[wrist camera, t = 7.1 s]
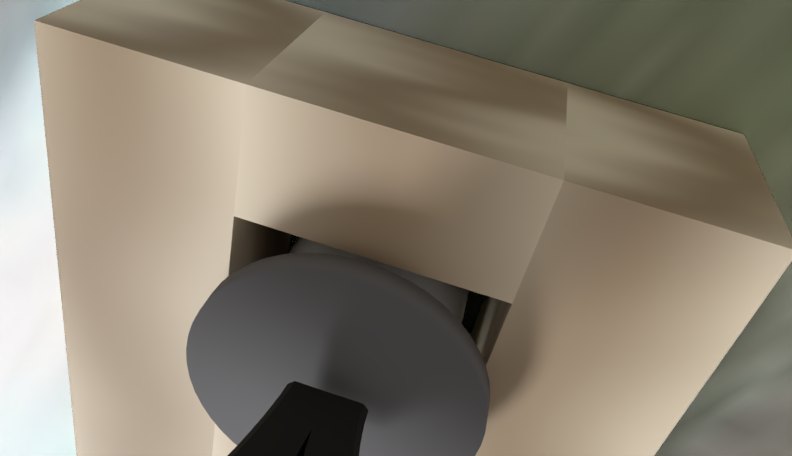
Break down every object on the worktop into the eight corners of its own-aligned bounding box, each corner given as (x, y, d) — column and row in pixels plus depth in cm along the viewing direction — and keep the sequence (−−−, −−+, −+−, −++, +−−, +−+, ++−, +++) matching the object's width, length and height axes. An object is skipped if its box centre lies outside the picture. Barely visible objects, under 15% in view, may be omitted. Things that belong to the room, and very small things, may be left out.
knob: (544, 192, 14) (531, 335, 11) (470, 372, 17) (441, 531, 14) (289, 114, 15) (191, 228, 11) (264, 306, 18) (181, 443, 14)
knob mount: (744, 134, 13) (798, 250, 10) (473, 605, 24) (456, 734, 21) (162, -36, 14) (34, 20, 11) (155, 495, 25) (90, 603, 21)
